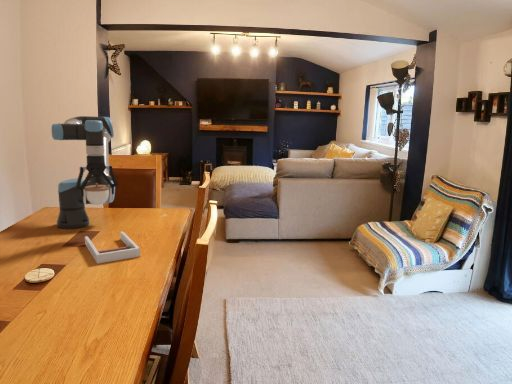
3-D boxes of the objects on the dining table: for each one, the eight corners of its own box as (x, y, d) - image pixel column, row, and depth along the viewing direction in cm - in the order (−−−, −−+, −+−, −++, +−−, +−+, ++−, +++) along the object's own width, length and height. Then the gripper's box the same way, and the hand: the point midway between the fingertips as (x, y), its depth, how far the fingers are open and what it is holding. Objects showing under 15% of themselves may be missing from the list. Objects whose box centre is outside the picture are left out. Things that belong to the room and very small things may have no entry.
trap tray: (96, 254, 159) (95, 251, 159) (129, 249, 166) (129, 246, 166) (100, 261, 152) (100, 257, 152) (134, 255, 160) (134, 251, 159)
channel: (85, 244, 171) (84, 236, 171) (123, 238, 180) (123, 231, 180) (97, 263, 150) (96, 255, 149) (140, 256, 159) (139, 248, 158)
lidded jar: (101, 206, 176) (100, 186, 174) (80, 204, 178) (79, 184, 176) (114, 201, 186) (113, 182, 184) (94, 200, 188) (93, 180, 186)
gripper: (68, 156, 168) (71, 206, 173) (123, 154, 181) (125, 201, 185) (66, 154, 175) (69, 203, 179) (119, 153, 187) (121, 198, 191)
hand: (97, 202), depth 182 cm, fingers closed on lidded jar, 11 cm apart
